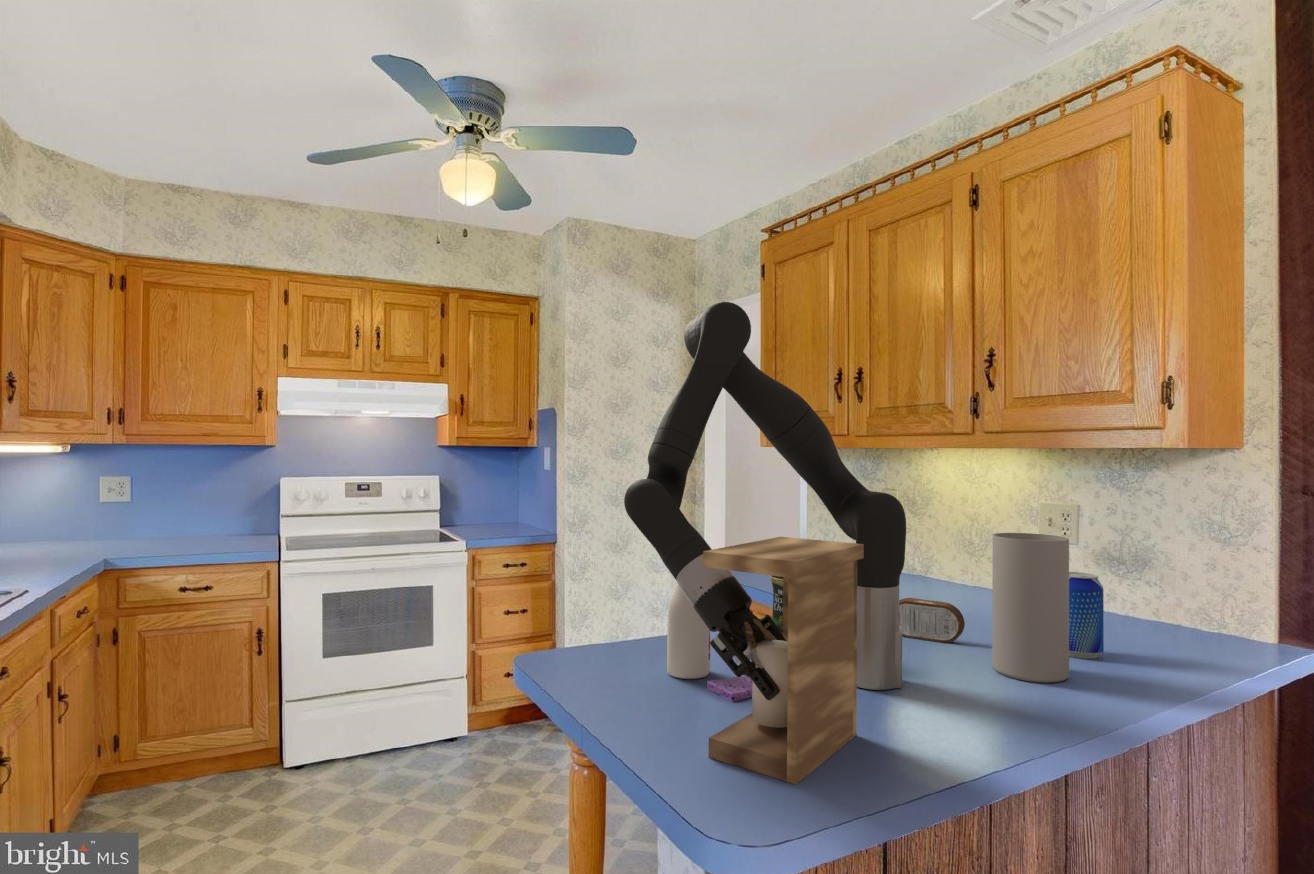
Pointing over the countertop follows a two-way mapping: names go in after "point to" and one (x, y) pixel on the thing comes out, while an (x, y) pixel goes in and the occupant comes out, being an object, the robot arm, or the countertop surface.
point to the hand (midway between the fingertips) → (785, 689)
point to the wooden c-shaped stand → (801, 655)
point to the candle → (776, 665)
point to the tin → (930, 620)
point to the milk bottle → (686, 639)
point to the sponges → (732, 687)
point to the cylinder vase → (1030, 606)
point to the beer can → (1085, 616)
